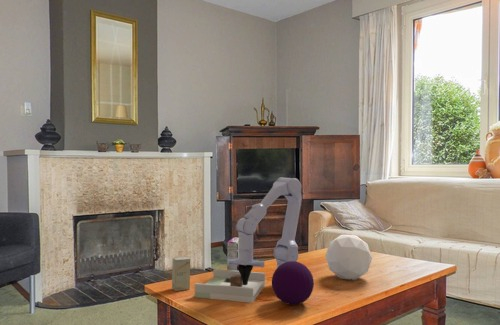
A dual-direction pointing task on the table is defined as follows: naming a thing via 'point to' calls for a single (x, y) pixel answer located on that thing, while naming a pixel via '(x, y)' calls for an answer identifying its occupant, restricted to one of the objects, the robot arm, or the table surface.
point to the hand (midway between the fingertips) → (245, 284)
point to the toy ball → (292, 283)
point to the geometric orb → (348, 257)
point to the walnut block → (236, 280)
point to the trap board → (230, 287)
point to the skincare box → (181, 273)
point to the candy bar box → (232, 252)
